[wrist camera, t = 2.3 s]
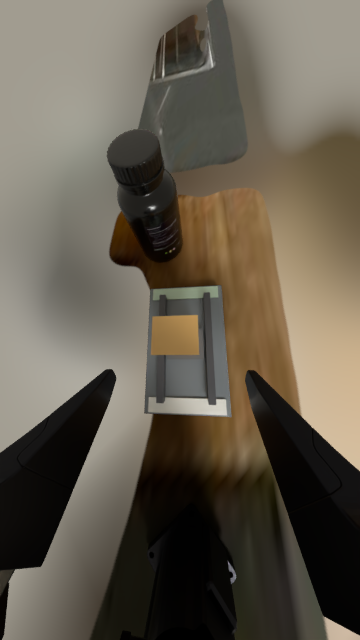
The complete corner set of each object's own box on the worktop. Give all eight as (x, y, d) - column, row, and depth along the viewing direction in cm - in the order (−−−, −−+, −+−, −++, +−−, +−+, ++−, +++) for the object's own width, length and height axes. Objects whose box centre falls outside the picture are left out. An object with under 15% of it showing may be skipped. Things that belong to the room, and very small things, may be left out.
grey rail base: (228, 411, 17) (234, 421, 15) (148, 408, 18) (140, 417, 16) (219, 289, 21) (222, 280, 18) (153, 293, 22) (147, 285, 19)
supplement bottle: (136, 242, 25) (84, 144, 13) (170, 223, 25) (147, 109, 13) (155, 271, 23) (113, 188, 11) (191, 250, 23) (186, 146, 12)
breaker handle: (203, 359, 17) (211, 364, 8) (168, 359, 18) (139, 364, 9) (202, 330, 18) (208, 306, 9) (168, 330, 19) (142, 308, 10)
